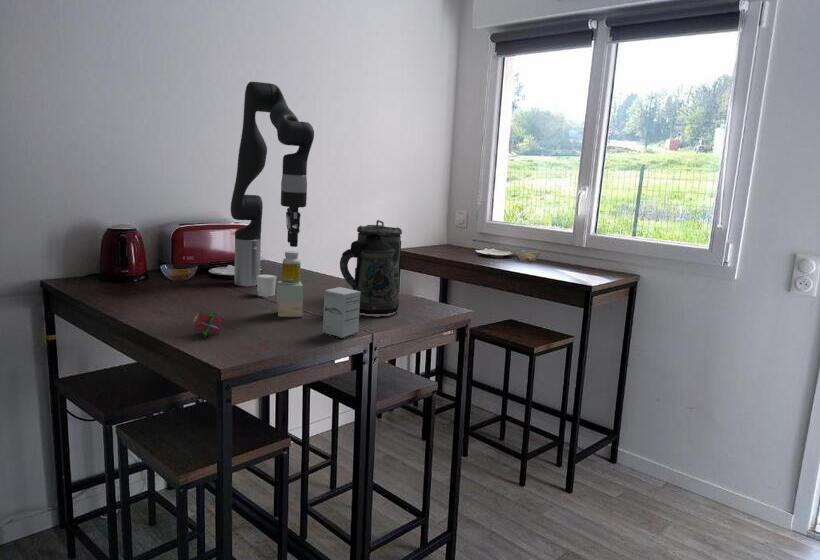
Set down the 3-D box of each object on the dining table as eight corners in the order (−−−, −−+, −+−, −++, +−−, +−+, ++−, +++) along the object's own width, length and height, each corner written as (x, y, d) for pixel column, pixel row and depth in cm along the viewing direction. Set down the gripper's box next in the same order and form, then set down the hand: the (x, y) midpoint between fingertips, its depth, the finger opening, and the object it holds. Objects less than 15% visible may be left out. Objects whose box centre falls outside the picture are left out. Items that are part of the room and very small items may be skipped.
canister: (348, 294, 221) (352, 217, 216) (389, 293, 227) (393, 219, 221) (360, 304, 206) (365, 222, 201) (404, 303, 212) (409, 223, 207)
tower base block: (277, 312, 189) (277, 296, 188) (299, 312, 191) (300, 296, 190) (278, 318, 183) (279, 301, 182) (302, 317, 185) (302, 301, 184)
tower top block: (277, 296, 188) (277, 281, 187) (300, 296, 190) (300, 281, 189) (278, 301, 182) (279, 285, 181) (302, 301, 184) (302, 285, 183)
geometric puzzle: (226, 322, 166) (208, 300, 162) (232, 329, 160) (213, 306, 156) (204, 339, 164) (185, 317, 160) (209, 346, 158) (190, 324, 154)
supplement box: (321, 334, 168) (323, 289, 166) (339, 329, 175) (340, 286, 172) (342, 339, 164) (344, 294, 162) (359, 334, 171) (361, 290, 168)
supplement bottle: (296, 285, 182) (297, 253, 180) (279, 284, 183) (279, 252, 181) (302, 282, 187) (303, 251, 186) (285, 281, 188) (286, 250, 186)
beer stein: (408, 312, 200) (413, 236, 196) (372, 322, 185) (376, 240, 180) (369, 303, 209) (372, 231, 205) (331, 312, 194) (334, 234, 189)
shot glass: (251, 296, 209) (252, 276, 207) (262, 292, 215) (263, 273, 214) (269, 298, 206) (269, 278, 205) (279, 295, 213) (280, 275, 212)
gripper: (309, 192, 174) (307, 248, 177) (304, 189, 187) (302, 241, 191) (282, 191, 172) (281, 247, 175) (279, 188, 185) (278, 240, 188)
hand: (292, 244), depth 183 cm, fingers open, 8 cm apart
